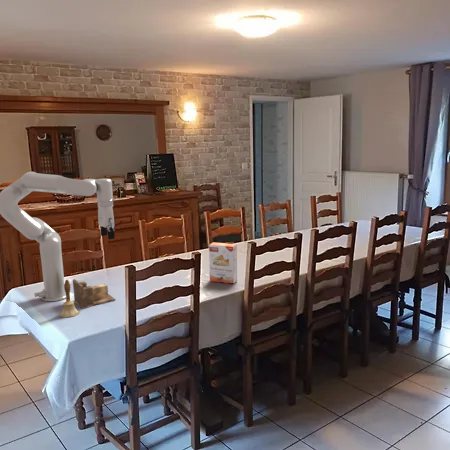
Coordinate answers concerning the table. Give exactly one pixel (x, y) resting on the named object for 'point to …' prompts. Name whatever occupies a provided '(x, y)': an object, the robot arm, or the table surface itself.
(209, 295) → the table surface
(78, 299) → the brown wooden angled piece
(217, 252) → the cracker box
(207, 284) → the table surface
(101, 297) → the tan wooden block
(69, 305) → the hand bell
